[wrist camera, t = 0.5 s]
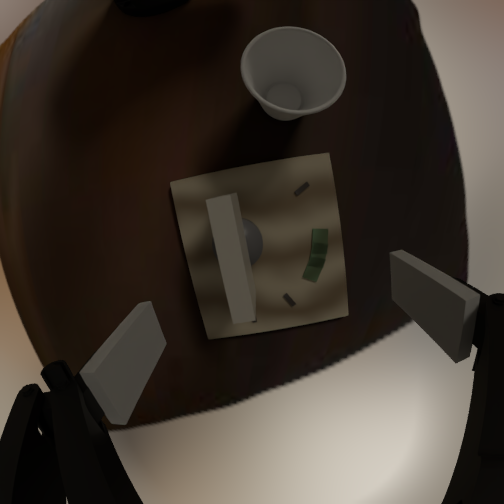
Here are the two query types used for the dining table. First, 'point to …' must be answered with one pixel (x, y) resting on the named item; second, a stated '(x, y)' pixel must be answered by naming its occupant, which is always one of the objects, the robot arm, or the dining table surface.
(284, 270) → the board
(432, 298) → the robot arm
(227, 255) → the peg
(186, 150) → the dining table surface
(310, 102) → the cup
